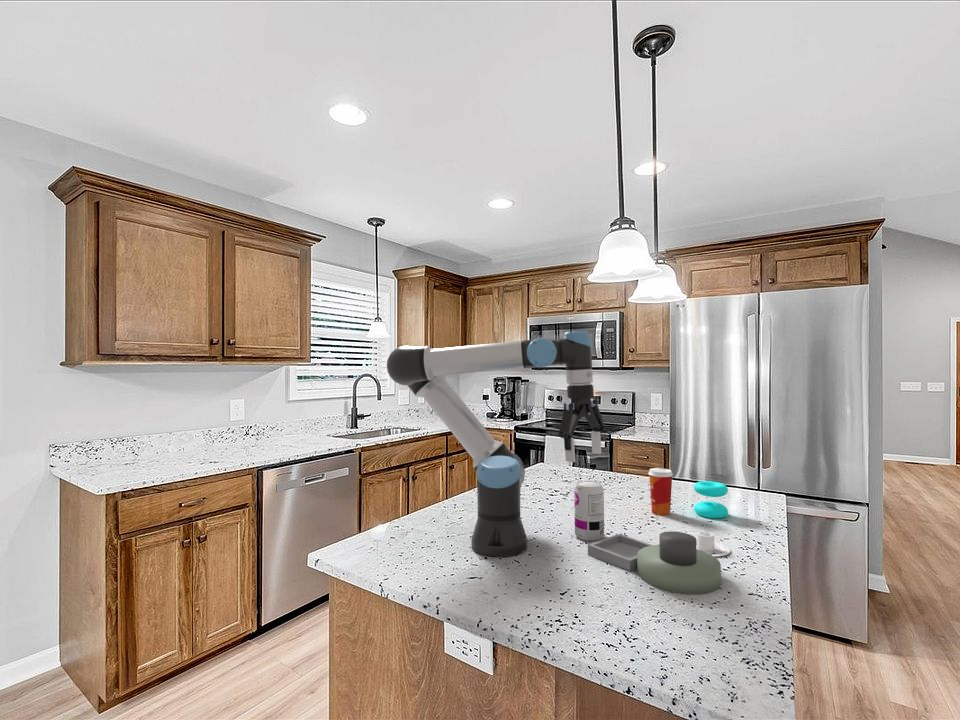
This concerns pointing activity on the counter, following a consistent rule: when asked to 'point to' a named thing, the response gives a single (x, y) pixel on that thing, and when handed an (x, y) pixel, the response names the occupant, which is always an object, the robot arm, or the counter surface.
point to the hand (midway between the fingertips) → (584, 457)
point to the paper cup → (660, 490)
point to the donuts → (709, 507)
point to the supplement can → (589, 510)
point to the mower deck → (663, 561)
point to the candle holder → (709, 543)
